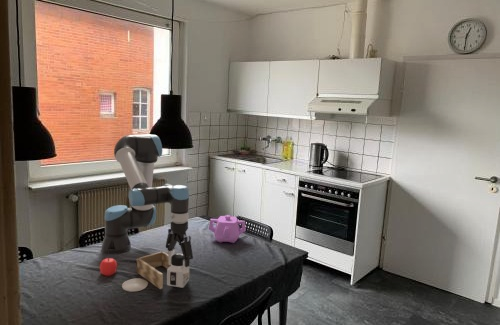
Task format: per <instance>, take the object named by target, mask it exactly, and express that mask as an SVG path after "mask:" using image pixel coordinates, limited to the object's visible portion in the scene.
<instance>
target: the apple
mask: <svg viewBox="0 0 500 325" xmlns="http://www.w3.org/2000/svg"><path fill="white" fill-rule="evenodd" d="M117 268H118V262H117V260H116V259H114V257H113V258H112V257H111V258H110V257H107V258H104V259H103V260H102V261H101V262H100V263H99V271H100V274H102V275H103V276H107V277H109V276H113V275H114V274H115V273H116V272H117Z"/></svg>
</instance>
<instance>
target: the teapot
mask: <svg viewBox="0 0 500 325" xmlns="http://www.w3.org/2000/svg"><path fill="white" fill-rule="evenodd" d="M214 223H216V224H215V226H214ZM240 225H241V227H240ZM208 230H209V231H211V232H212V233H214V237H215V238H214V239H215V241H217V243H219V244H221V243H223V242H224V243H231V244H235V243H236V242H237V241H238V240H239V237H240V235H241V234H243V233H245V232H246V220H239V219H238V218H237V217H236V216H231V215H230V214H226V215H220V216H219V217H218V218H210V220H209V226H208Z"/></svg>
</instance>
